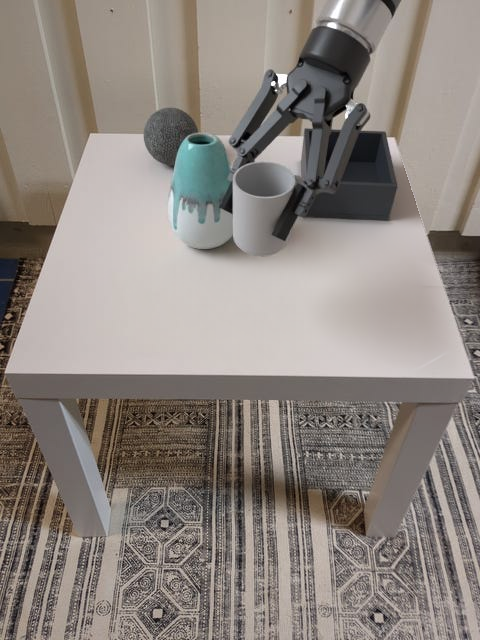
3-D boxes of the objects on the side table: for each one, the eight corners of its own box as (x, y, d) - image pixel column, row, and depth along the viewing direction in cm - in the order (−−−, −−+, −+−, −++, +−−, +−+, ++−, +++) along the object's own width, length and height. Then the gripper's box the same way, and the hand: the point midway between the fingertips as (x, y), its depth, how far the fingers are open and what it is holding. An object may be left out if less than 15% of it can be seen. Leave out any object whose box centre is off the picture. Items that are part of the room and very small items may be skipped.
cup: (222, 231, 72) (221, 172, 66) (286, 207, 76) (292, 148, 69) (251, 265, 68) (254, 205, 62) (318, 238, 72) (327, 178, 65)
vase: (193, 204, 98) (187, 108, 85) (252, 226, 95) (256, 128, 81) (156, 243, 92) (143, 145, 78) (218, 268, 88) (215, 169, 74)
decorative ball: (193, 142, 111) (191, 94, 104) (204, 171, 105) (202, 122, 97) (143, 149, 109) (136, 100, 102) (151, 179, 103) (145, 129, 95)
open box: (388, 220, 96) (397, 186, 91) (302, 217, 96) (306, 182, 91) (377, 164, 107) (385, 131, 102) (300, 161, 107) (304, 128, 102)
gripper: (428, 82, 63) (331, 265, 67) (283, 34, 71) (203, 199, 75) (418, 50, 57) (311, 255, 60) (259, 0, 65) (173, 184, 69)
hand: (251, 224), depth 68 cm, fingers closed on cup, 7 cm apart
